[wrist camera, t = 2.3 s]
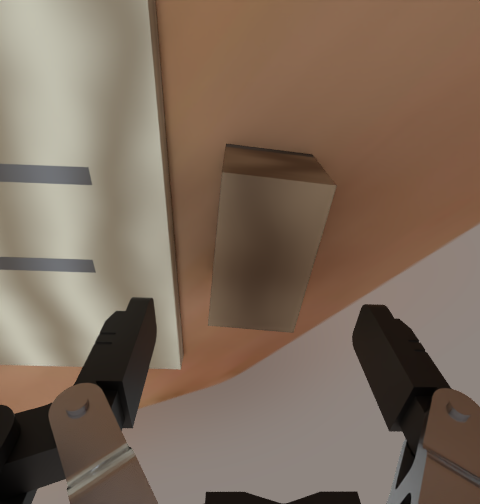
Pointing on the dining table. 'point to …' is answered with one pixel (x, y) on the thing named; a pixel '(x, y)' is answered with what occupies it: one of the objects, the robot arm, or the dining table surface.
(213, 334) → the dining table surface
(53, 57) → the board
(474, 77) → the dining table surface
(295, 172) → the block
